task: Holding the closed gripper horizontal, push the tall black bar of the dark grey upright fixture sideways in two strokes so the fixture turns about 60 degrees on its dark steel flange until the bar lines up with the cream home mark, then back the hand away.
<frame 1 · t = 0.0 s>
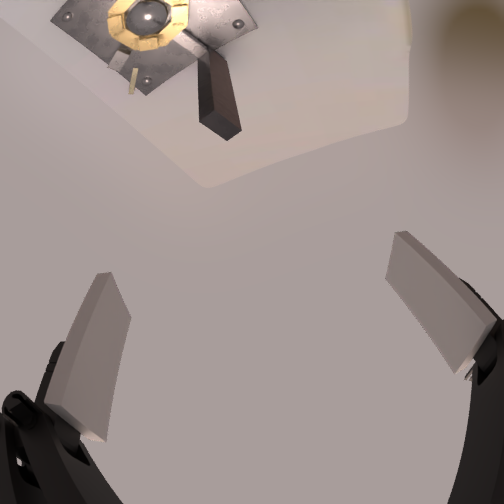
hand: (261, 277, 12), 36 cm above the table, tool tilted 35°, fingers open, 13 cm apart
dark grey upright fixture: (169, 50, 22), point 10 cm above the table, hinge at 0.0°
flange: (151, 10, 22), on the table
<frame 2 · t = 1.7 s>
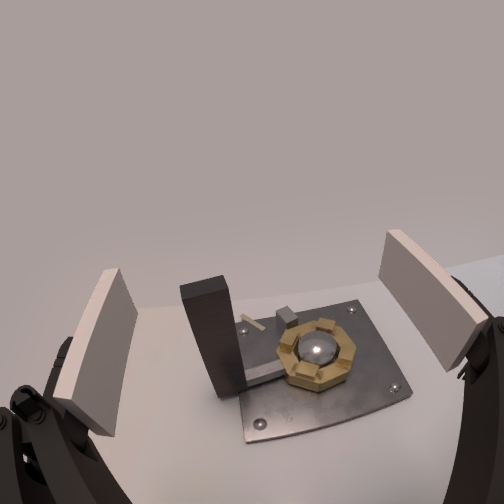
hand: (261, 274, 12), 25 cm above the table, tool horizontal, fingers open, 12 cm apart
dark grey upright fixture: (285, 328, 29), point 10 cm above the table, hinge at 0.0°
flange: (314, 364, 35), on the table
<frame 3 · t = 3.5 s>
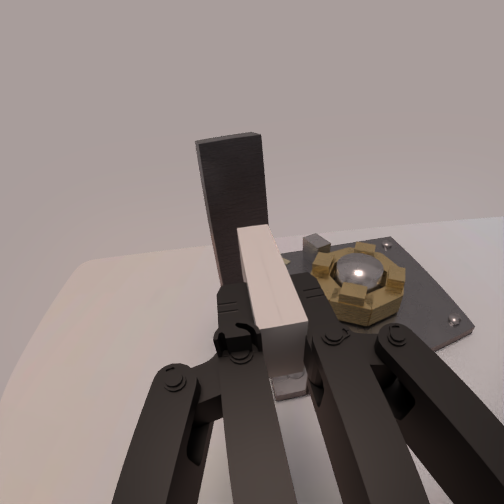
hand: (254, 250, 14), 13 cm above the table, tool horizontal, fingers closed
dark grey upright fixture: (326, 228, 23), point 10 cm above the table, hinge at 0.0°
flange: (354, 299, 29), on the table
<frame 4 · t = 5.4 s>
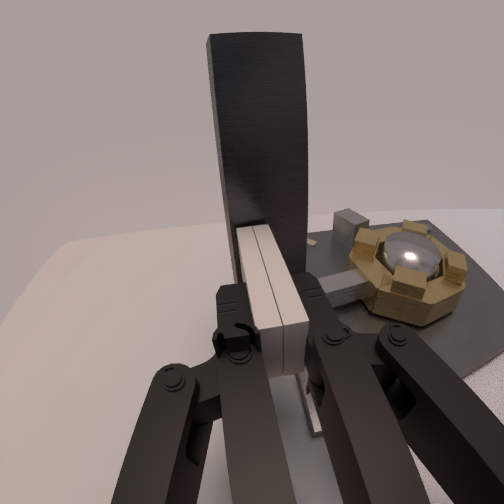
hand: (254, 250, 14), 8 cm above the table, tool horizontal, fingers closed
dark grey upright fixture: (381, 187, 15), point 10 cm above the table, hinge at 3.8°, touching gripper
flange: (400, 291, 21), on the table
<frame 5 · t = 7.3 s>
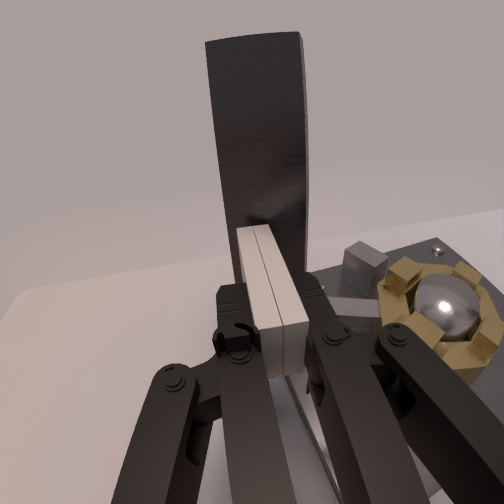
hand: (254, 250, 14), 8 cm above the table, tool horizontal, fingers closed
dark grey upright fixture: (411, 216, 12), point 10 cm above the table, hinge at 38.9°, touching gripper
flange: (428, 340, 16), on the table
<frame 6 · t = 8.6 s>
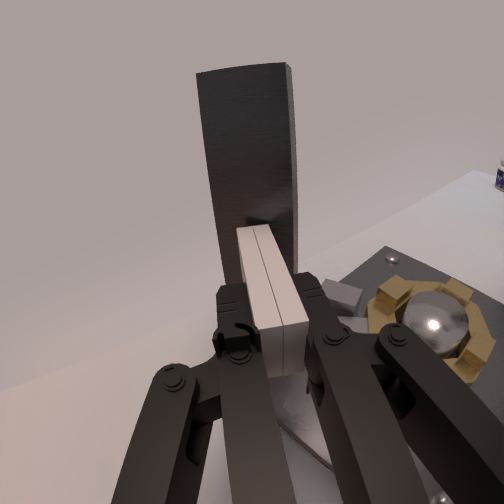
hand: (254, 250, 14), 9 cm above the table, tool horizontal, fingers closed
dark grey upright fixture: (397, 239, 13), point 10 cm above the table, hinge at 62.2°, touching gripper
pill bottle: (501, 190, 50), on the table
flange: (418, 355, 17), on the table
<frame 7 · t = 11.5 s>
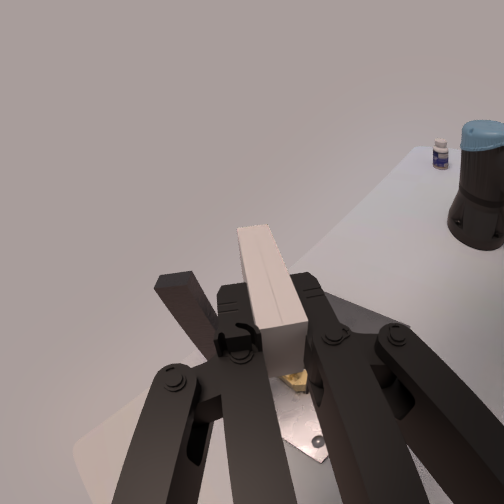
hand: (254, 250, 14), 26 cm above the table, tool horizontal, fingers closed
dark grey upright fixture: (264, 324, 30), point 10 cm above the table, hinge at 62.3°
pill bottle: (440, 167, 66), on the table
flange: (312, 361, 35), on the table
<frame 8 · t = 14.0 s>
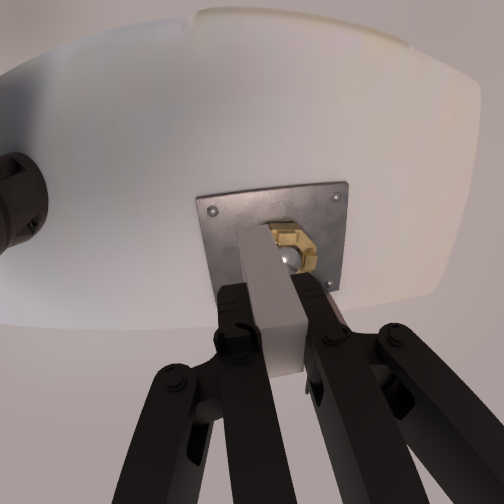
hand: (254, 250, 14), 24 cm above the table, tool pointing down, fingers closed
dark grey upright fixture: (312, 303, 36), point 10 cm above the table, hinge at 62.3°
flange: (277, 248, 43), on the table
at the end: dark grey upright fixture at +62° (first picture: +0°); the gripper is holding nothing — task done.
